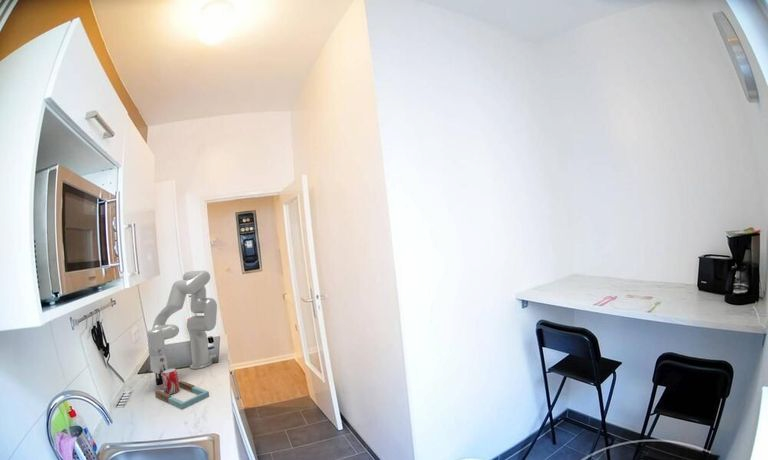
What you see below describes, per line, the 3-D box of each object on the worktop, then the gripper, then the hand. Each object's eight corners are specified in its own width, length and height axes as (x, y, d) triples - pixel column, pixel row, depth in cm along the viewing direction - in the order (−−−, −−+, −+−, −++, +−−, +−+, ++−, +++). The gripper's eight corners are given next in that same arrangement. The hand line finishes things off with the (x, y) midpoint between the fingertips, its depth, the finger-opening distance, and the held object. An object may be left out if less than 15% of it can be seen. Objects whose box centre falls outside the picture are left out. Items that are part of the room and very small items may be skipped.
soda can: (160, 395, 184) (158, 372, 183) (173, 388, 190) (170, 367, 190) (170, 396, 181) (168, 373, 181) (182, 389, 188) (180, 367, 188)
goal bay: (195, 390, 185) (194, 386, 185) (209, 396, 178) (208, 391, 178) (168, 402, 174) (168, 398, 174) (182, 409, 167) (181, 404, 167)
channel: (181, 385, 193) (181, 380, 193) (195, 390, 185) (194, 385, 185) (155, 397, 182) (155, 391, 182) (168, 402, 174) (168, 397, 174)
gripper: (170, 351, 191) (174, 384, 191) (158, 347, 199) (161, 379, 199) (155, 355, 184) (159, 390, 185) (143, 352, 193) (146, 384, 193)
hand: (160, 384), depth 192 cm, fingers closed
